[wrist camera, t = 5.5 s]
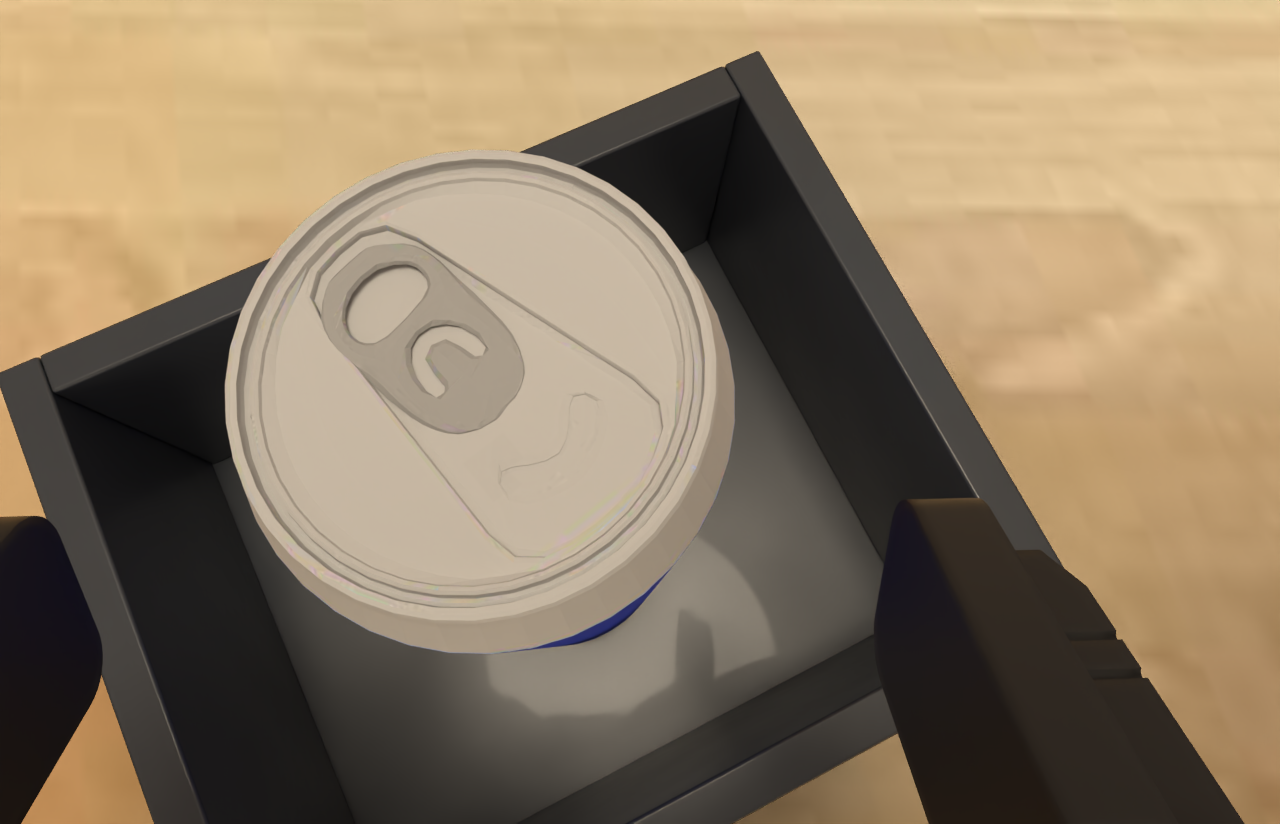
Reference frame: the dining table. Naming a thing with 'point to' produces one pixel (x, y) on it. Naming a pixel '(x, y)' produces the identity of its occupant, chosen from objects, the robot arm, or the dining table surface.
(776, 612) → the dark grey open box
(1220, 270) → the dining table surface
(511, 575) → the beverage can
